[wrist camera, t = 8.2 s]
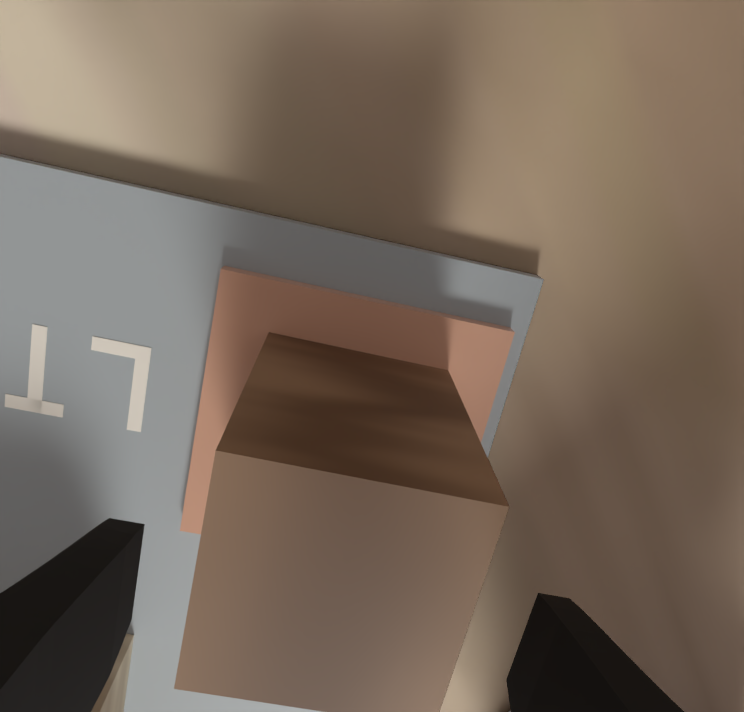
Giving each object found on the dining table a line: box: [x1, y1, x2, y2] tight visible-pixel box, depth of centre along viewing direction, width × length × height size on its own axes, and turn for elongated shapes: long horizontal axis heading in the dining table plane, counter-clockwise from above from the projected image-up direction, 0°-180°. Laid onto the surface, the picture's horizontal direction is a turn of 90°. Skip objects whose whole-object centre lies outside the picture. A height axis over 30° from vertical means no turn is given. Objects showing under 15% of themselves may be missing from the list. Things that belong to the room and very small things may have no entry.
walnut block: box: [174, 332, 509, 712], centre depth 14 cm, size 5×5×7 cm
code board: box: [0, 154, 544, 712], centre depth 20 cm, size 17×22×1 cm
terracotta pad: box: [180, 266, 515, 534], centre depth 18 cm, size 8×8×1 cm
